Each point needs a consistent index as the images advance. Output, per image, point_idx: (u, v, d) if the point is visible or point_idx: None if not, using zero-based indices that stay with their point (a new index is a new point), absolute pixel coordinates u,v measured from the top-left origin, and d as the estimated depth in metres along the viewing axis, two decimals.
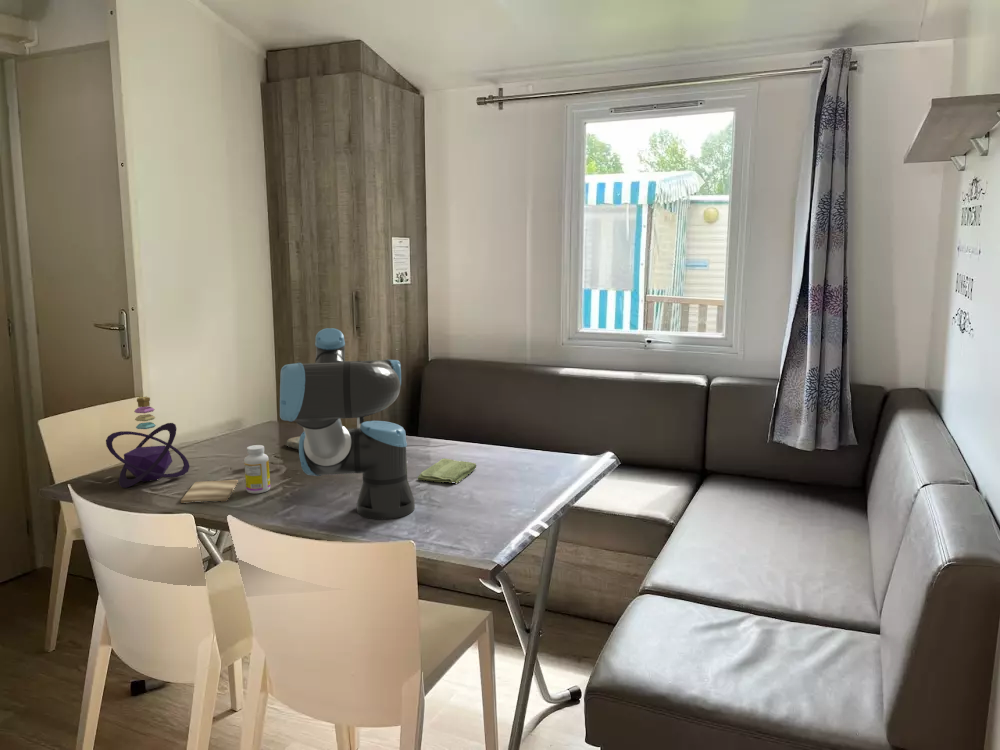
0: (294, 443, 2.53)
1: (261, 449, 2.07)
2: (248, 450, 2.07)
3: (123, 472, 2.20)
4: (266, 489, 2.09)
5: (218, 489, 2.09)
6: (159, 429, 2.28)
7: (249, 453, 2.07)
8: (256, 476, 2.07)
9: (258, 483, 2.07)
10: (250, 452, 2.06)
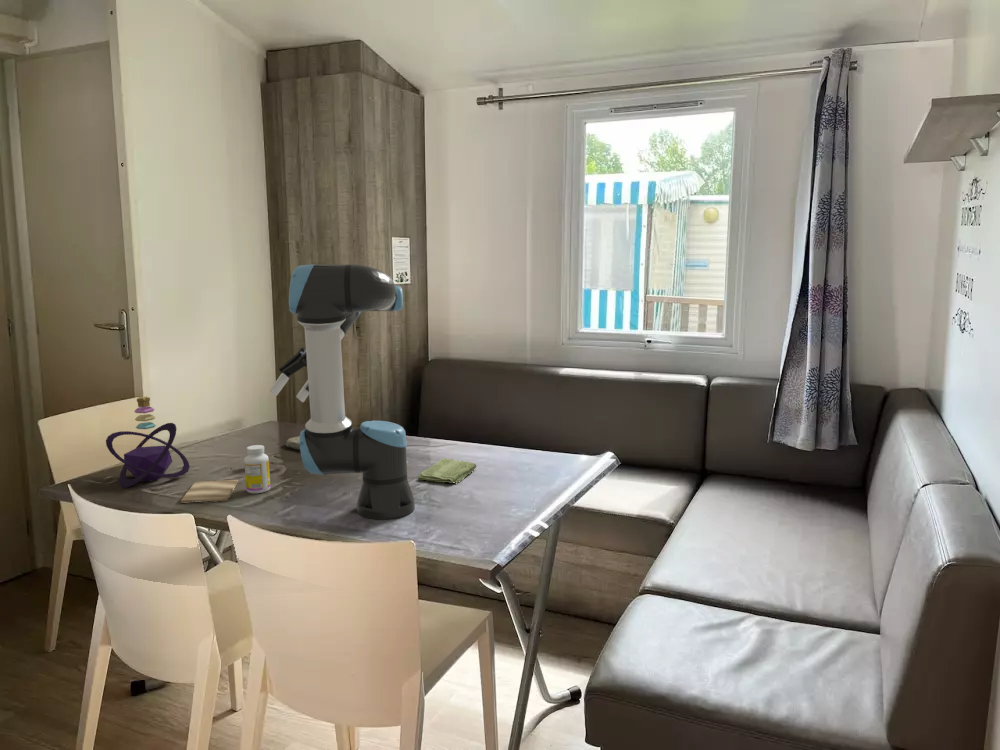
0: (294, 443, 2.53)
1: (261, 449, 2.07)
2: (248, 450, 2.07)
3: (123, 472, 2.20)
4: (266, 489, 2.09)
5: (218, 489, 2.09)
6: (159, 429, 2.28)
7: (249, 453, 2.07)
8: (256, 476, 2.07)
9: (258, 483, 2.07)
10: (250, 452, 2.06)
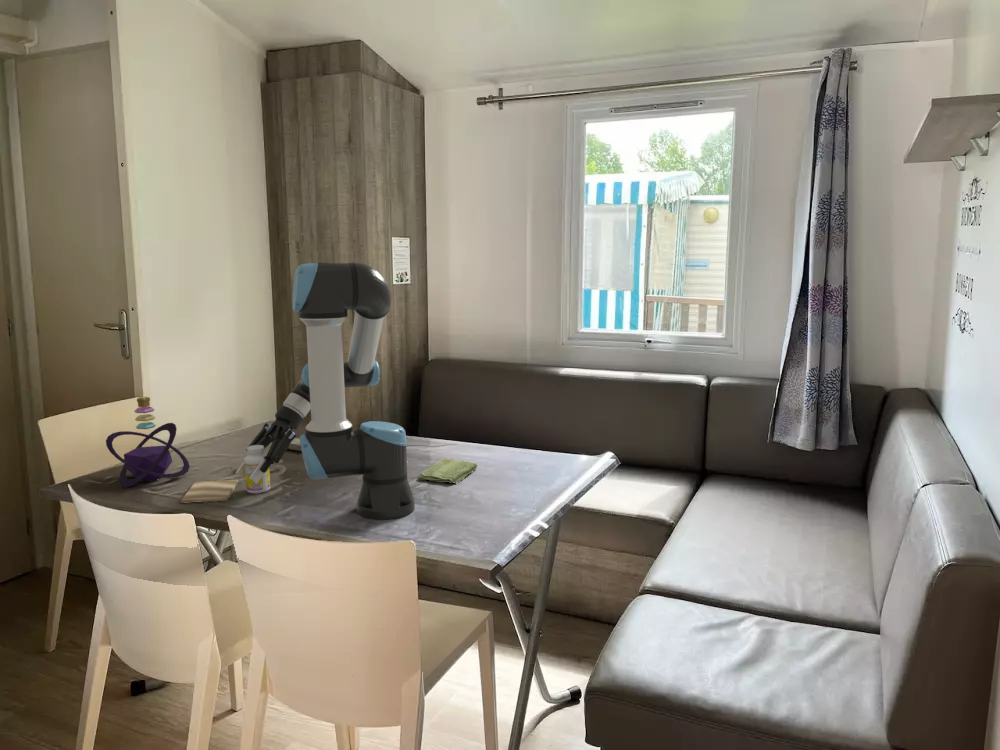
0: (292, 444, 2.51)
1: (261, 449, 2.07)
2: (248, 450, 2.07)
3: (123, 472, 2.20)
4: (266, 489, 2.09)
5: (218, 489, 2.09)
6: (159, 429, 2.28)
7: (249, 453, 2.07)
8: None
9: (258, 483, 2.07)
10: (250, 452, 2.06)
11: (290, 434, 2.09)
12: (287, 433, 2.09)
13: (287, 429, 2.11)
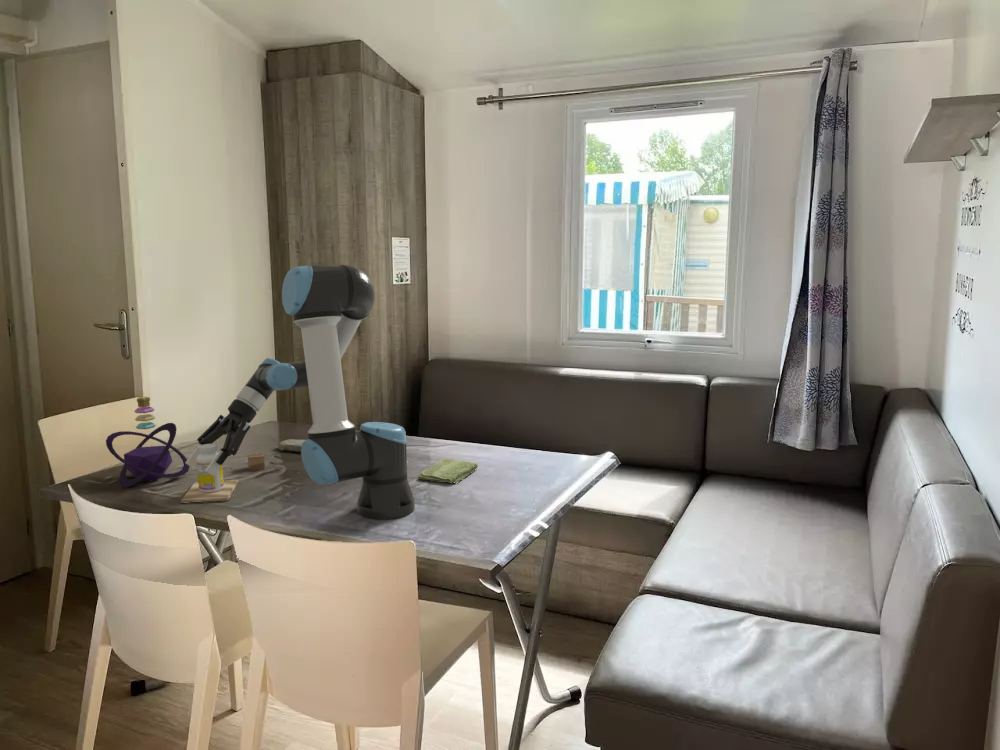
0: (291, 446, 2.49)
1: (213, 448, 2.05)
2: (200, 449, 2.04)
3: (123, 472, 2.20)
4: (219, 488, 2.07)
5: None
6: (159, 429, 2.28)
7: (201, 452, 2.04)
8: (208, 475, 2.04)
9: (210, 483, 2.05)
10: (202, 451, 2.04)
11: (244, 425, 2.07)
12: (241, 425, 2.07)
13: (240, 422, 2.09)
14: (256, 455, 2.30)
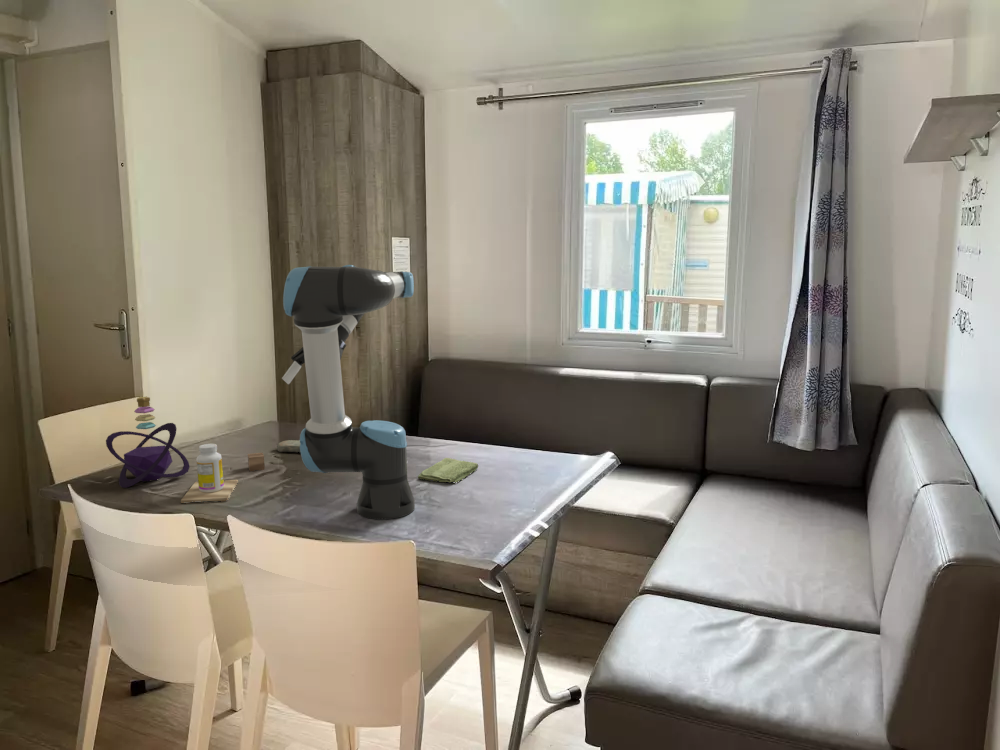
0: (292, 446, 2.49)
1: (213, 448, 2.05)
2: (200, 449, 2.04)
3: (123, 472, 2.20)
4: (219, 488, 2.07)
5: None
6: (159, 429, 2.28)
7: (201, 452, 2.05)
8: (208, 475, 2.04)
9: (210, 482, 2.05)
10: (202, 451, 2.04)
11: (341, 343, 2.13)
12: None
13: None
14: (256, 455, 2.30)
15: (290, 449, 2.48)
